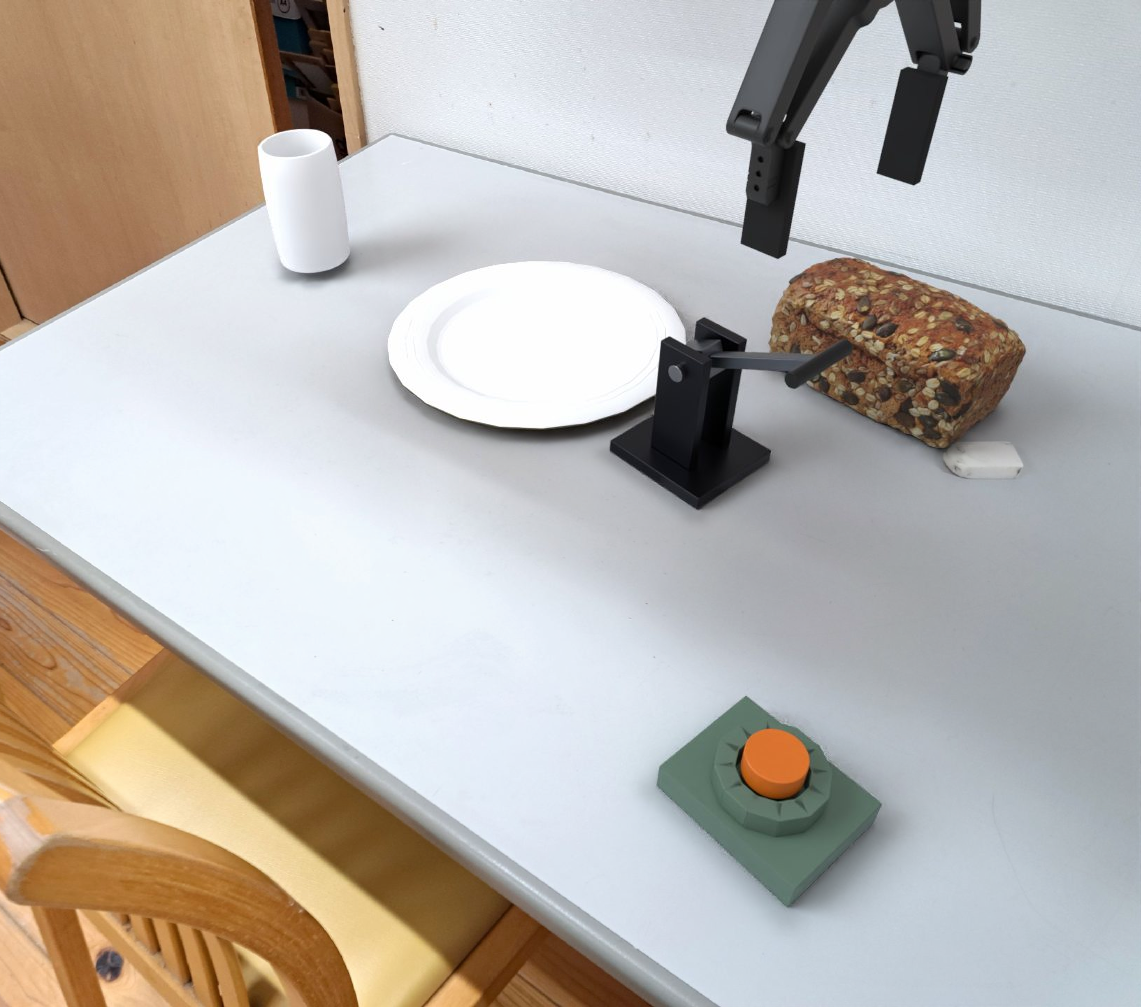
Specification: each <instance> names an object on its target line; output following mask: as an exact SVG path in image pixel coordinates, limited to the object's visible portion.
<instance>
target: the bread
mask: <svg viewBox="0 0 1141 1007" xmlns="http://www.w3.org/2000/svg"><path fill="white" fill-rule="evenodd" d="M771 321H772V322H771V323H772V325H771V328H770V338H769V340H768V343H767V344H768V346H769V353H799V354H819V353H820V352H822V351H824V350H825V349H827V348H828V347H830V346H832V345H833V344H835V343H837V342H838V341H840V340H842V339H847V340H849V341H850V342H851V343H852V345H853V351H852V353H851V354H850V355H848V356H846V357H845V358H843V359H842V360H840V361H839V362H837V363H835V364H834V365H832V366H831V367H829V368H828V369H826V370H824V371H823V372H821V373H820V374H818V375H816V376H815V377H813V378H812V379H810V380H809V381H807V382H805V383H806V385H807V386H809V387H811V388H813V389H814V390H816V391H820V392H821V393H822V394H823V395H826V396H829V397H830V398H832V399H834V400H836V401H838V402H840V403H841V404H843V405H845V406H847V407H849V408H851V409H853V410H855V411H856V412H858V413H860V414H862V415H863V416H866V417H868V418H870V419H872V420H874V422H877V423H880V424H885V425H887V426H890V427H892V428H893V429H895V430H897V429H899V430H900V431H901V432H902V433H903V434H907V435H912V436H913V437H915V438H917V439H918V440H920V441H923V442H924V443H925V444H927V445H928V446H929V447H933V448H937V449H938V448H939V449H945V448H949V446H951V444H952V443H953V442H956V441H959V439H961V438H962V437H963V435H964V434H965V433H966V432H967V430H968V429H970V428H972V427H973V426H974V425H975V424H976V423H977V422H981V421H983V420H984V419H985V418H986V417H988V415H990V414H991V413H992V412H994V410H995V409H996V408H997V407H998V406H999V404H1000V403H1001V401H1002V400H1003V398H1004V397H1005V395H1006V394H1007V392H1008V391H1009V390H1010V388H1011V385H1012V383H1013V381H1014V380H1015V377H1016V375H1017V372H1018V370H1019V367H1020V366H1021V364H1022V363H1023V359H1024V357H1025V355H1026V353H1027V349H1026V345H1025V344H1024V342H1023V341H1022V339H1021V338H1020V337H1019V333H1018V332H1016V331H1015V330H1013V329H1011V328H1010V327H1009V326H1008V324H1007V323H1006V322H1005V321H1003V319H1001V318H996V317H995V316H993V315H991V314H990V313H989V312H987V311H984V310H983V309H981V308H980V307H978V306H976V305H975V304H973V303H971V302H969V301H968V300H967V299H964V298H963V297H961V296H960V295H957V294H955V293H952V292H950V291H948V290H945V289H941V288H938V287H935V286H933V285H930V284H928V283H927V282H924V281H923V282H922V281H920V280H918V279H913V278H912V277H910V276H908V275H907V274H904V273H901V272H900V273H899V272H896V271H894V270H893V271H892V270H886V269H882V268H881V267H879V266H878V265H876V264H871V263H870V262H869V261H865V260H863V259H861V258H858V257H843V256H842V257H835V258H832V259H828V260H825V261H822V262H815V263H814V264H812V265H811V266H810V267H808V268H806V269H805V270H803V271H802V272H801V273H798V274H796V275H794V276H793V277H792V278H791V279H789V280H788V286H787V287H786V289H785V290H783V291H782V296H781V297H780V299H779V300H778V302H777V305H776V307H775V309H774V312H773V315H772V317H771Z"/></svg>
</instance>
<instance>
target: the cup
mask: <svg viewBox="0 0 1141 1007" xmlns="http://www.w3.org/2000/svg"><path fill="white" fill-rule="evenodd" d="M257 154H258V162H259V171H260V177H261V184H262V190H263V195H264V199H265V200H264V201H265V204H266V209H267V214H268V218H269V221H270V222H269V223H270V226H271V230H272V234H273V238H274V241H275V246H276V249H277V252H278V257H279V259H280V263H281V264H282V266H283V267H284V268H286V269H287V270H289V271H292V272H295V273H301V274H314V273H321V272H326V271H329V270H332V269H334V268H336V267H339V266H340V265H342V264H344V262H346V261H347V259H348V258H349V257H350V254H351V252H350V251H351V250H350V238H349V237H350V236H349V228H348V227H349V226H348V218H347V210H346V202H345V196H344V188H343V183H342V177H341V172H340V168H339V163H338V158H337V155H336V151H335V146H334V142H333V139H332V137H331V136H330V135H329V134H328V133H325V132H324V131H321V130H319V129H311V128H310V129H309V128H299V129H297V128H296V129H288V130H284V131H280V132H277V133H274V134H271V135H270V136H268V137H266V138H264V139H263V140H262V141H261V142H260V144H259V145H258V146H257Z"/></svg>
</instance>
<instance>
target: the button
mask: <svg viewBox="0 0 1141 1007" xmlns="http://www.w3.org/2000/svg"><path fill="white" fill-rule="evenodd" d="M809 766H810V758H809V754H808V752H807V750H806V748H805V746H804V745H803V743H802V742H801V741H800V740H799V739H797V738H796V737H795V736H793V735H792V734H790V733H788V732H785V731H782V730H778V729H764V730H760V731H758V732H756V733H754V734H753V735H752V736H751V737H750V738H749V739H748V740H747V742H746V744H745V748H744V752H743V756H742V760H741V773H742V776H743V778H744V780H745V781H746V783H747V784H748V785H749V786H750V787H751V788H752V789H753V790H754V791H755V792H757V793H758V794H760V795H762V796H765V797H768V798H772V799H784V798H788V797H791V796H793V795H795V794H796V793H797V792H799V790H800V789H801V788H802V786H803V784H804V781H805V778H806V775H807V772H808V769H809Z"/></svg>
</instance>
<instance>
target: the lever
mask: <svg viewBox="0 0 1141 1007" xmlns="http://www.w3.org/2000/svg"><path fill="white" fill-rule="evenodd" d="M685 345H687V346H689V347H690V348H692V349H694V350H696V351H698V352H700V353H701V354H703V355H705V356H707V357H709V358H711V359H712V365H711V372H710V378H711V377H713V376H714V375H716V374H718V373H720V372H721V371H723V370H725V369H726V368H727V369H742V370H746V371H747V370H749V371H771V372H772V371H773V372H786V373H785V375H784V383H785V385H786V386H787V388H789V389H791V390H792V389H793V390H795V389H796V390H797V389H798V388H799V387H801V386H802V385H804V384H805V383H806V382H807V381H809V380H810V379H812V378H813V377H815V376H816V375H818V374H820V373H821V372H823V371H824V370H826V369H828V368H829V367H831V366H832V365H834V364H835V363H837V362H839V361H840V360H842V359H843V358H845V357H846V356H848V355H850V354H851V353H852V351H853V345H852V343H851V342H850V341H849V340H847V339H842V340H840V341H838V342H837V343H835V344H833V345H832V346H830V347H828V348H827V349H825V350H824V351H822V352H820V353H819V354H799V353H770V352H762V351H760V352H758V351H745V352H730V351H723V348H722V344H721V340H699V339H694V338H693V340H691V341H689V342H686V344H685Z"/></svg>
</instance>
